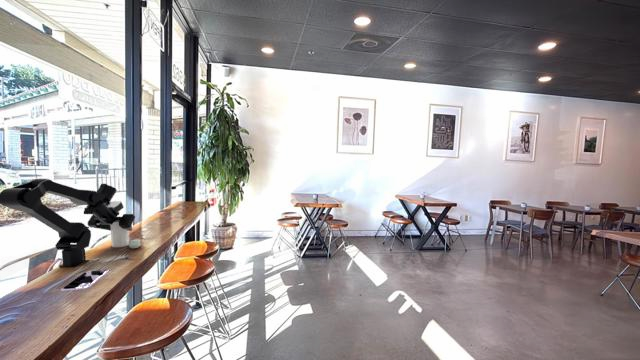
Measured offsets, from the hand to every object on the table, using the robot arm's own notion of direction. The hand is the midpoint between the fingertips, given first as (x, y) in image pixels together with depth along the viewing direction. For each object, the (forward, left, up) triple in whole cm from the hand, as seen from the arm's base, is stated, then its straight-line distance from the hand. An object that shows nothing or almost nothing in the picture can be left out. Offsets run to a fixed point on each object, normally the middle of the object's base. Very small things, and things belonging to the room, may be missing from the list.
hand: (122, 230), depth 136 cm
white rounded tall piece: (-1, 0, -7) cm, 7 cm away
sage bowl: (-4, -9, -7) cm, 12 cm away
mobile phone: (-39, -17, -7) cm, 43 cm away
